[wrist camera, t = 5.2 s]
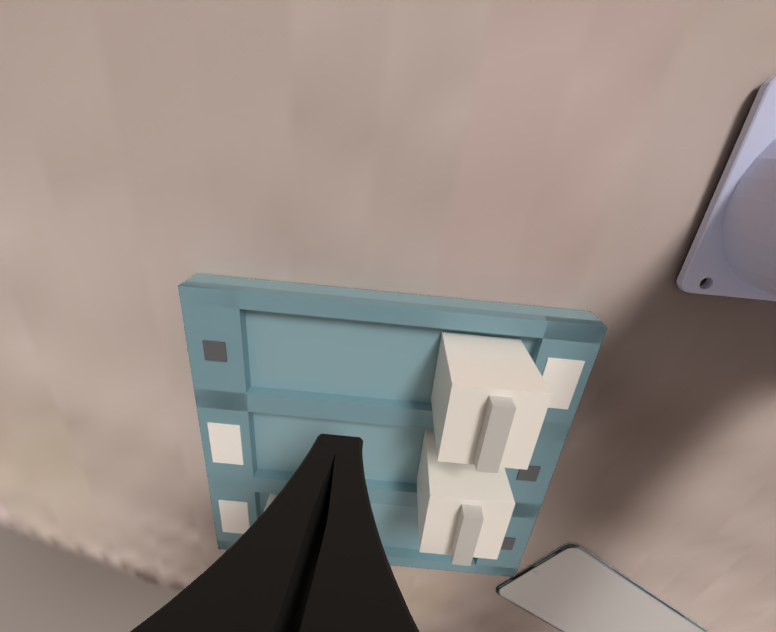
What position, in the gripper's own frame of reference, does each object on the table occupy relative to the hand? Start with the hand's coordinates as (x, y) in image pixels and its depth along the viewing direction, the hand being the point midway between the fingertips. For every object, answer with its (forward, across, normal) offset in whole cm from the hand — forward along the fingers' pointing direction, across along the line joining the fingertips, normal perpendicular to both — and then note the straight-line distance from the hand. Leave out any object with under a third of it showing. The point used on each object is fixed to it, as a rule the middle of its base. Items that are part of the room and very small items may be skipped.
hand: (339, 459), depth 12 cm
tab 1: (+6, -5, 0) cm, 8 cm away
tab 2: (+6, -5, +5) cm, 10 cm away
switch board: (+7, -1, +6) cm, 9 cm away
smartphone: (+8, -18, +20) cm, 28 cm away
